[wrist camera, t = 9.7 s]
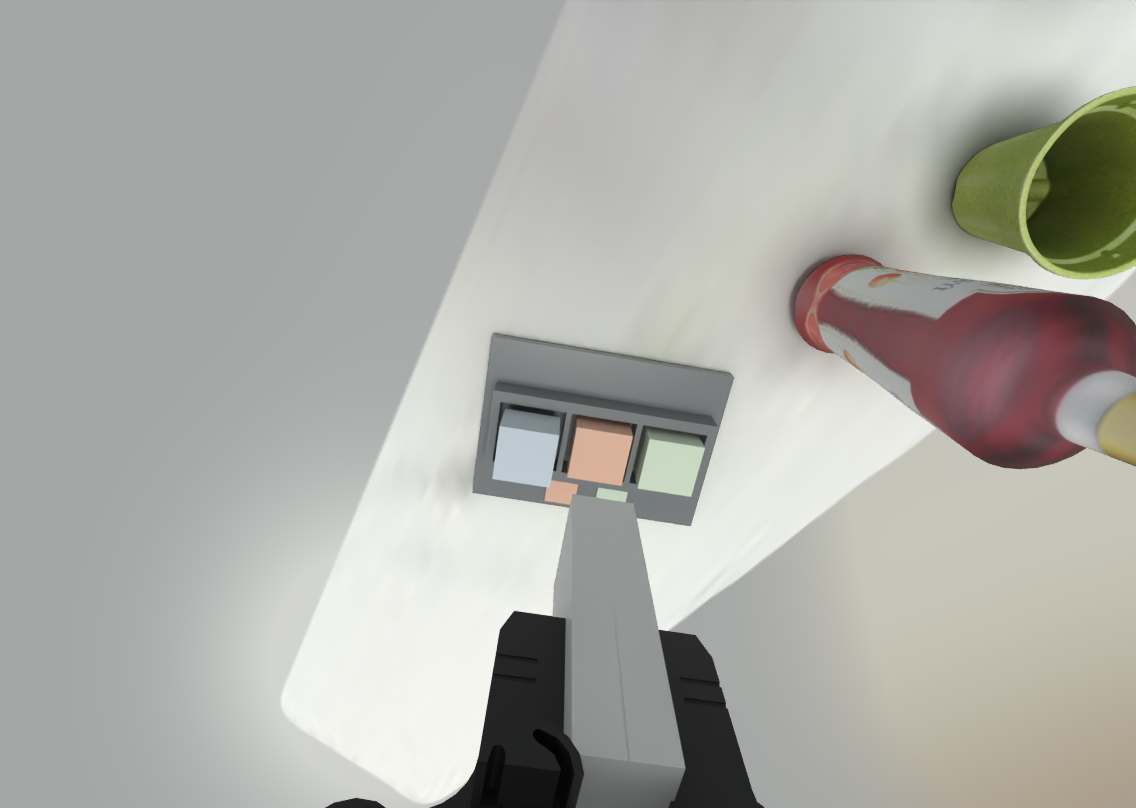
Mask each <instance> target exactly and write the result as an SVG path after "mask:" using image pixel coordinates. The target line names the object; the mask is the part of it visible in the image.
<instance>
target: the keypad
mask: <svg viewBox="0 0 1136 808" xmlns="http://www.w3.org/2000/svg"><path fill="white" fill-rule="evenodd" d="M733 379H734V377H733V376H732V375H731V374H730V373H725V372H719V371H713V370H707V369H701V368H695V367H689V366H683V365H678V364H672V363H666V362H660V361H654V360H648V359H642V358H636V357H630V356H624V355H618V354H612V353H607V352H601V351H595V350H589V349H583V348H577V347H571V346H565V345H559V344H553V343H547V342H541V341H536V340H530V339H524V338H518V337H512V336H506V335H500V334H493V336H492V340H491V348H490V356H489V364H488V372H487V380H486V388H485V396H484V404H483V412H482V420H481V428H480V436H479V444H478V452H477V460H476V468H475V476H474V484H473V492H472V493H478V494H484V495H491V496H497V497H504V498H510V499H517V500H523V501H530V502H536V503H543V504H549V505H556V506H562V507H569V508H570V503H571V498H572V494H576V495H582V496H589V497H595V498H602V499H608V500H614V501H621V502H627V503H634V508H635V513H636V518H641V519H647V520H654V521H660V522H667V523H673V524H680V525H686V526H691V523H692V520H693V516H694V513H695V509H696V506H697V502H698V499H699V496H700V492H701V489H702V485H703V482H704V479H705V475H706V472H707V468H708V465H709V461H710V458H711V455H712V451H713V448H714V444H715V441H716V438H717V434H718V431H719V427H720V424H721V420H722V417H723V414H724V410H725V407H726V403H727V400H728V396H729V393H730V390H731V386H732V383H733ZM505 409H511V410H517V411H523V412H530V413H536V414H542V415H548V416H554V417H560V432H559V440H558V445H557V451H556V457H555V462H554V468H553V473H552V479H551V484H550V488H548V487H541V486H535V485H529V484H522V483H516V482H509V481H503V480H496V479H492V478H493V470H494V463H495V456H496V449H497V441H498V434H499V427H500V423H501V420H502V417H503V414H504V411H505ZM576 414H577V415H584V416H590V417H596V418H602V419H608V420H614V421H620V422H627V423H630V426H631V430H632V434H633V439H632V443H631V447H630V451H629V456H628V460H627V464H626V469H625V473H624V477H623V481H622V486H619V485H612V484H606V483H599V482H593V481H587V480H580V479H574V478H567V465H568V453H569V448H570V443H571V438H572V432H573V427H574V422H575V417H576ZM643 425H645V426H651V427H657V428H664V429H670V430H676V431H682V432H688V433H694V434H698V435H699V437H700V439H701V441H702V443H703V445H704V447H705V450H704V454H703V457H702V461H701V464H700V467H699V471H698V474H697V478H696V481H695V485H694V488H693V492H692V495H691V497H689V496H682V495H676V494H670V493H663V492H657V491H650V490H644V489H638V488H637V483H636V479H635V474H634V470H633V467H634V462H635V458H636V454H637V450H638V446H639V441H640V437H641V433H642V429H643Z"/></svg>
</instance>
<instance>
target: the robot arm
mask: <svg viewBox="0 0 1136 808" xmlns="http://www.w3.org/2000/svg"><path fill="white" fill-rule="evenodd" d="M719 683H720V682H719V679H718V675H717V672H716V669H715V665H714V662H713V659H712V657H711V655H710V654H709V653H708V651H707V650H706V649H705V647H704V646H703V645H702V643H701V642H700V641H699V639H698V638H697V637H696V635H691V634H684V633H677V632H670V631H663V630H658V625H657V620H656V615H655V610H654V605H653V600H652V595H651V590H650V585H649V579H648V574H647V569H646V564H645V559H644V554H643V549H642V544H641V539H640V534H639V528H638V523H637V518H636V513H635V508H634V503H627V502H621V501H614V500H608V499H602V498H595V497H589V496H582V495H576V494H572V498H571V503H570V508H569V513H568V518H567V523H566V528H565V533H564V538H563V543H562V549H561V554H560V559H559V564H558V569H557V574H556V579H555V584H554V598H553V616H546V615H539V614H532V613H525V612H518V611H514V612H513V613H512V615H511V616H510V617H509V618H508V620H507V621H506V622H505V624H504V625H503V626H502V628H501V629H500V633H499V639H498V645H497V651H496V657H495V662H494V668H493V674H492V680H491V686H490V692H489V698H488V704H487V710H486V716H485V722H484V728H483V734H482V740H481V746H480V751H479V757H478V760H477V763H476V767H475V770H474V772H473V773H472V775H471V777H470V778H469V780H468V782H467V783H466V784H465V785H464V786H463V787H462V788H461V789H460V790H459V792H457V794H456V795H454V796H453V797H451V798H449V799H448V800H446V801H445V802H443V803H441V804H439V805H436V806H433V807H430V808H764V807H763V806H762V805H760V804H759V803H757V801H756V798H755V796H754V794H753V791H752V789H751V785H750V782H749V778H748V775H747V772H746V768H745V765H744V762H743V758H742V755H741V752H740V748H739V745H738V742H737V738H736V735H735V732H734V728H733V725H732V722H731V718H730V715H729V712H728V709H727V708H726V702H725V699H724V695H723V692H722V688H721V687H720V686H719ZM326 808H385V807H384V806H382V805H381V804H380V803H378V802H377V801H371V800H365V799H359V798H354V799H349V800H345V801H340V802H335V803H333V804H331V805H329V806H328V807H326Z"/></svg>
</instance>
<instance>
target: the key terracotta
mask: <svg viewBox="0 0 1136 808" xmlns="http://www.w3.org/2000/svg"><path fill="white" fill-rule="evenodd" d="M632 439H633V434H632V430H631V426H630V423H627V422H620V421H614V420H608V419H602V418H596V417H590V416H584V415H577V414H576V417H575V422H574V427H573V432H572V438H571V443H570V448H569V453H568V465H567V478H574V479H580V480H587V481H593V482H599V483H606V484H612V485H619V486H622V481H623V477H624V473H625V469H626V464H627V460H628V456H629V451H630V447H631V443H632Z"/></svg>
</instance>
